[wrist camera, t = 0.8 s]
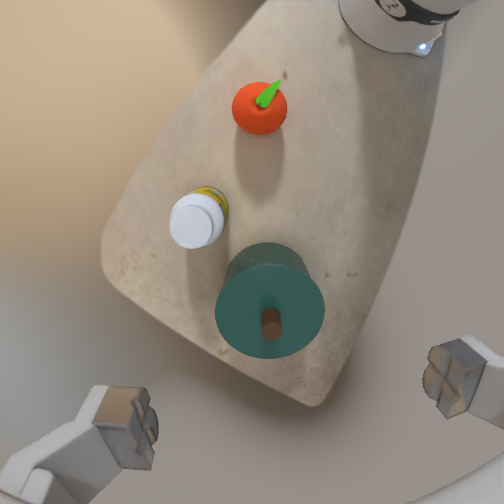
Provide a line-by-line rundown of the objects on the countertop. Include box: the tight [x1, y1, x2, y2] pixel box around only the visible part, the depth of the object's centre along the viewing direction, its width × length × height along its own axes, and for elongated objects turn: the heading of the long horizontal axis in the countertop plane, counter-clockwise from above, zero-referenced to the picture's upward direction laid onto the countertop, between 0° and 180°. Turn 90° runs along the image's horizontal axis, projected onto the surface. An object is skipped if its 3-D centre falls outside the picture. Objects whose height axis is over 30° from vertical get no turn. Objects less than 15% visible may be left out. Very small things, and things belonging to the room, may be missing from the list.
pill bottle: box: [170, 187, 229, 249], centre depth 38 cm, size 6×6×12 cm
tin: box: [223, 243, 310, 287], centre depth 42 cm, size 13×13×10 cm
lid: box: [215, 263, 325, 359], centre depth 36 cm, size 14×14×5 cm
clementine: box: [232, 80, 287, 135], centre depth 35 cm, size 8×7×7 cm
